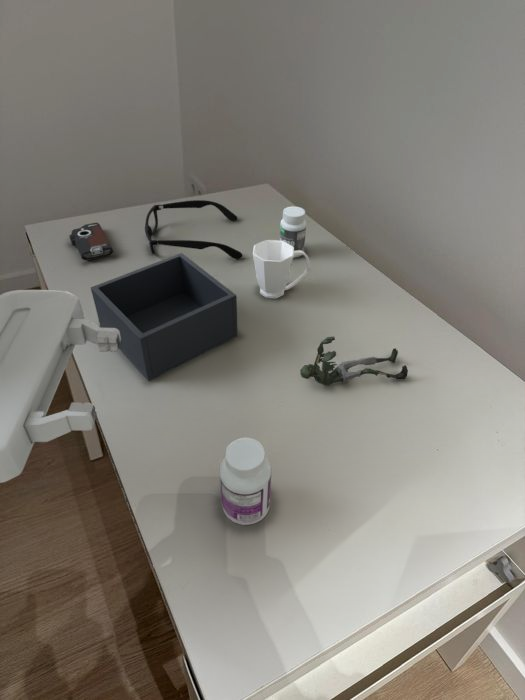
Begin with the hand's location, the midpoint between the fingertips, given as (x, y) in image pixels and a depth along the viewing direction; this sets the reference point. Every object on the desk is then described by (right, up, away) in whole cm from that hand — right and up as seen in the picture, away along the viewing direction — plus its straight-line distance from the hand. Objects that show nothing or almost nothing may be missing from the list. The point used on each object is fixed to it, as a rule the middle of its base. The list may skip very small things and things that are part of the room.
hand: (107, 375), depth 45 cm
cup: (+17, +12, +43) cm, 48 cm away
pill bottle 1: (+12, -15, +13) cm, 23 cm away
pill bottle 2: (+19, +21, +53) cm, 60 cm away
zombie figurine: (+26, -2, +28) cm, 38 cm away
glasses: (0, +24, +55) cm, 60 cm away
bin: (-1, +5, +34) cm, 35 cm away
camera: (-19, +22, +53) cm, 60 cm away
